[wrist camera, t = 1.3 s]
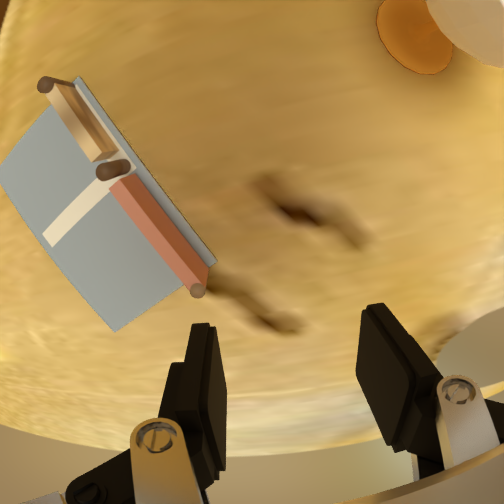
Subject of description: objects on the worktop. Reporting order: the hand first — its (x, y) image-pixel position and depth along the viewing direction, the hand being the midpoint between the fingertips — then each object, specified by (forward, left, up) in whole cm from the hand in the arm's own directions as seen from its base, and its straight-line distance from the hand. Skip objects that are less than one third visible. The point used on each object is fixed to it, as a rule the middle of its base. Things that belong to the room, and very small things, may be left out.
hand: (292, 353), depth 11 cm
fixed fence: (-16, -7, -19) cm, 26 cm away
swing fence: (-4, -7, -19) cm, 20 cm away
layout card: (-10, -12, -19) cm, 25 cm away
